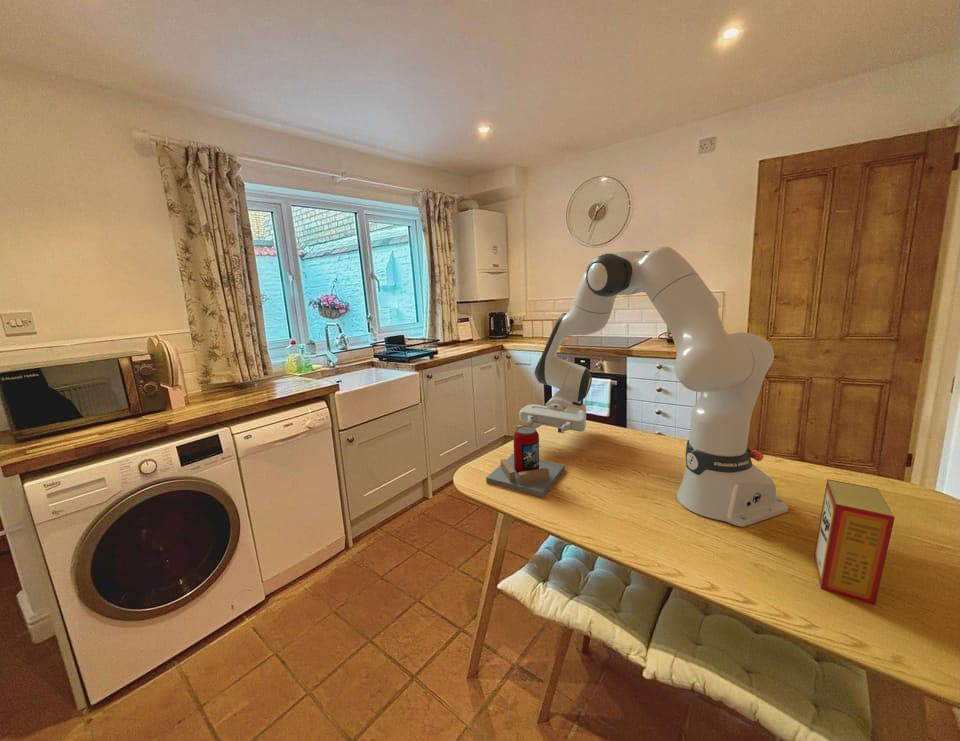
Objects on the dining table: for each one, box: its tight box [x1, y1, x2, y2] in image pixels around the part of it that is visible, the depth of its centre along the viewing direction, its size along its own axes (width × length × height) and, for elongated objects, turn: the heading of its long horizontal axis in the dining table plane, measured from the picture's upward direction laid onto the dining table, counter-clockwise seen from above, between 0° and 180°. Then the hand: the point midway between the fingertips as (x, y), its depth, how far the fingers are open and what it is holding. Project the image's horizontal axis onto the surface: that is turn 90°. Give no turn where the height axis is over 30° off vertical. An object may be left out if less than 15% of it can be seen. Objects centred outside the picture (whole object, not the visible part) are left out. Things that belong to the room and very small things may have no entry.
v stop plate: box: [485, 453, 566, 499], centre depth 106 cm, size 16×16×4 cm
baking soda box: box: [813, 478, 895, 606], centre depth 66 cm, size 10×6×16 cm
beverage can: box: [513, 425, 540, 472], centre depth 105 cm, size 7×7×12 cm
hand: (544, 427), depth 113 cm, fingers open, 8 cm apart
